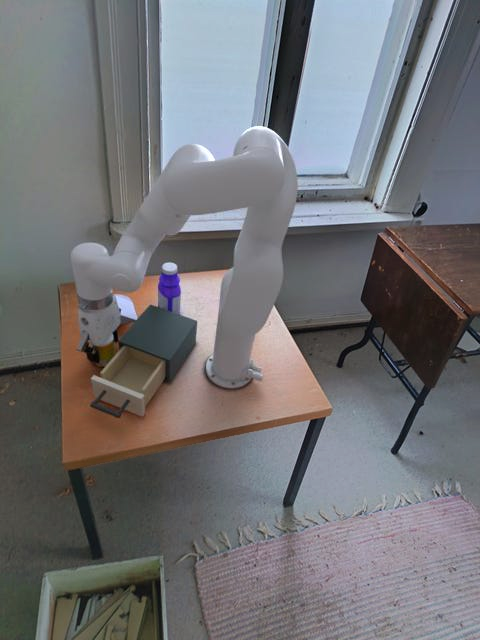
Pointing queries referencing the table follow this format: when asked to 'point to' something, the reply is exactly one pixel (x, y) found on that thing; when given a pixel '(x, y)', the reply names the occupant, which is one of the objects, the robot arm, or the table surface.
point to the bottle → (169, 289)
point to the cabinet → (162, 337)
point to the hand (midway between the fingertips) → (103, 350)
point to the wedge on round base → (126, 309)
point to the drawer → (128, 381)
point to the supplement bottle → (106, 351)
